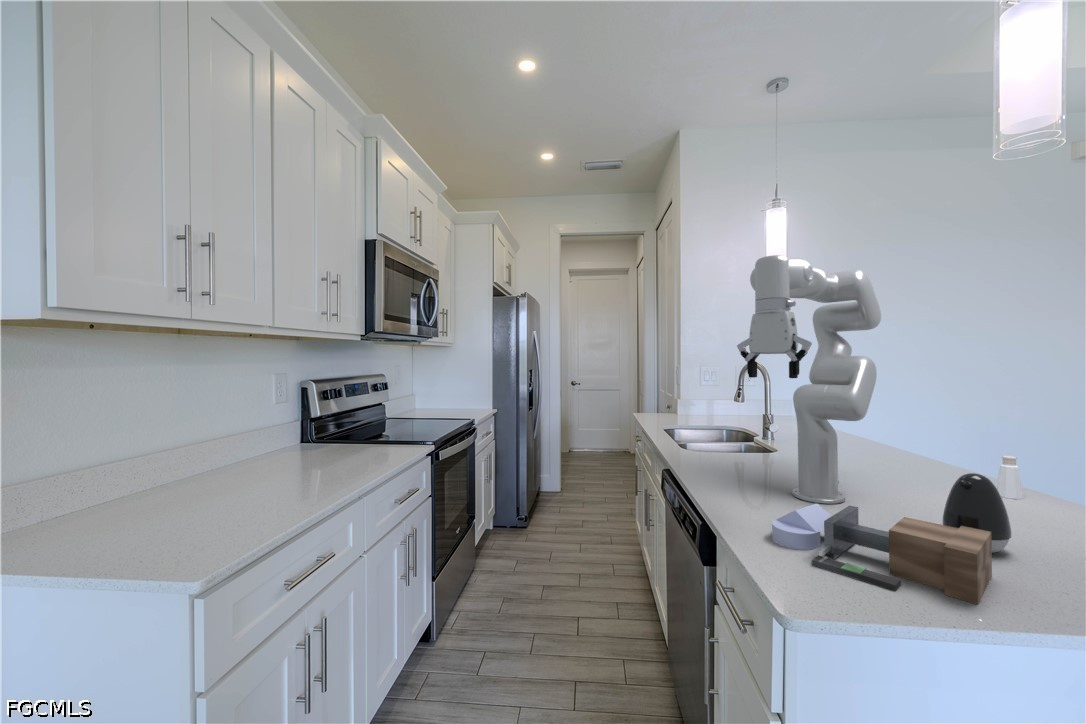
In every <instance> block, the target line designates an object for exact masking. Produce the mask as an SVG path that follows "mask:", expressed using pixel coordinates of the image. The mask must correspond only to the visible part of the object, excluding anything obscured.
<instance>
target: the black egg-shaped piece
mask: <svg viewBox="0 0 1086 724" xmlns="http://www.w3.org/2000/svg"><path fill="white" fill-rule="evenodd" d="M1009 517H1010V516H1009V514H1008V511H1007V508H1006V506H1005V502H1004V500H1003V497H1001V496H1000V494H999V492H998V490H997V486H996V485H995V484H994V483H993V481H991V480H990V478H988V477H986V476H985V475H982V474H980V473H974V472H971V473H970V472H969V473H965V474H962V475H961V476H959V477H958V478H957V479H956V481H955V482H953V485H952V487H951V489H950V491H949V494H948V497H947V499H946V502H945V505H944V508H943V514H942V525H945V526H950V527H955V528H960V527H961V526H965V527H970V528H975V529H980V530H985V531H990V532H991V539H992V554H994V553H997V552H1000V551H1003V550H1004V549H1005V548H1006V547H1007V545H1008V543H1009V541H1010V539H1011V538H1012V534H1013V533H1012V526H1011V522H1010V518H1009Z"/></svg>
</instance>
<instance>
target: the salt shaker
mask: <svg viewBox="0 0 1086 724" xmlns="http://www.w3.org/2000/svg"><path fill="white" fill-rule="evenodd" d="M1001 458H1002V464H999V470H998V471H999V472H998V478H997V479H998V480H997V486H996V488H997V490H998V492H999V494H1000V496H1001V498H1004V499H1010V500H1011V499H1012V500H1024V492H1023V488H1022V487H1023V486H1022V485H1023V484H1022V479H1021V473H1020V468H1019V465H1017V457H1016V456H1013V455H1002V456H1001Z"/></svg>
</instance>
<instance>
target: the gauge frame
mask: <svg viewBox="0 0 1086 724" xmlns="http://www.w3.org/2000/svg"><path fill="white" fill-rule="evenodd" d="M888 532H889V553H888V562H889V563H888V569H889V570H888V571H889V572H888V573H889V575H886V574H883V573H879V572H877V571H872V570H869V569H867V568H866V567H863V566H860V565H857V564H854V563H853V564H852V563H850V562H846V563H845V562H843V561H839V560H835V559H831V558H828V557H826V556H825V555H824V556H820V555H819V554H818V555H816V556H815V557H814V558H812V559H811V566H814V567H818V568H821V569H824V570H827V571H831V572H834V573H837V574H840V575H843V576H845V577H850V578H853V579H856V580H859V581H863V582H865V583H869V584H871V585H875V586H879V587H882V588H885V589H887V590H888V589H889V590H891V591H894V592H896V591H898V589H899V588H900V587H901V586H902V580H901V579H900V578H902V579H906V580H909V581H913V582H915V583H920V584H923V585H926V586H930V587H933V588H937V589H940V590H944V595H945V596H947V595H948V596H949V597H951V596H952V598H954V597H955V598H954V599H957V598H958V600H961V599H962V600H961V601H964V600H965V601H964V602H967V601H968V602H969V603H971V602H972V603H971V604H974V603H976V604H975V605H979V603H980V602H981V599H982V597H983V596H984V593H985V592H984V591H986V590H985V589H987V588H986V587H988V586H987V585H989V584H988V583H990V582H989V581H991V580H992V578H993V563H992V562H993V553H992V539H991V532H990V531H985V530H980V529H975V528H970V527H965V526H961V527H960V528H955V527H950V526H945V525H943V524H940V523H935V522H930V521H926V520H920V519H915V518H911V517H902V518H901V519H900V520H899V521H898V522H896V523H895V524H894V525H893V526H891V528H888ZM890 575H892V576H890ZM894 576H895V577H894ZM897 577H900V578H897ZM991 577H992V578H991ZM990 579H991V580H990Z"/></svg>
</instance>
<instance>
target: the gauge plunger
mask: <svg viewBox="0 0 1086 724" xmlns="http://www.w3.org/2000/svg"><path fill="white" fill-rule="evenodd" d="M830 516H831V515H830ZM823 534H824V536H823V538H824V542H823V543H824V547H823V548H821V549H819V551H818V553H819V554H818V555H819V556H822V557H824V556H826V557H828V558H829V559H833V560H835V559H836V558H837V557H839V556H841V554H842V553H844V552H845V551H846V550H849V548H851V547H852V546H853V545H857V546H861V547H865V548H868V549H872V550H876V551H880V552H883V553H887V554H889V531H885V530H882V529H878V528H873V527H868V526H865V525H864V526H863V525H860V524H859V506H854V505H850V504H849V505H848V506H845V507H844V508H843V509H841V510H840V511H838V512H837V513H835V514H832V516H831V517H830V518H828V519H826V520H825V521H824V530H823Z"/></svg>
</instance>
